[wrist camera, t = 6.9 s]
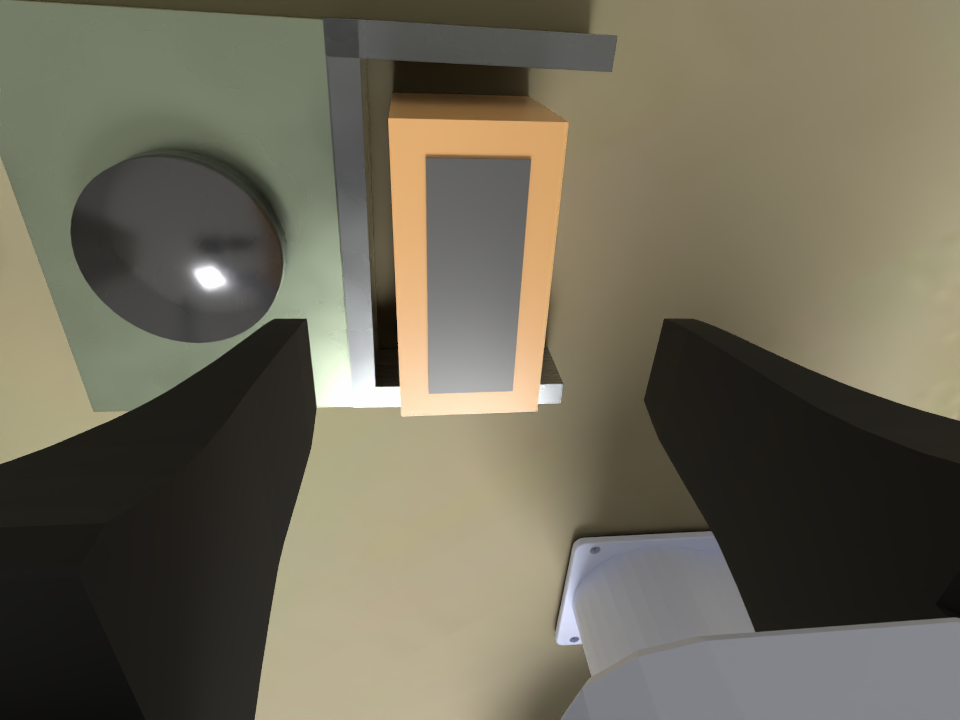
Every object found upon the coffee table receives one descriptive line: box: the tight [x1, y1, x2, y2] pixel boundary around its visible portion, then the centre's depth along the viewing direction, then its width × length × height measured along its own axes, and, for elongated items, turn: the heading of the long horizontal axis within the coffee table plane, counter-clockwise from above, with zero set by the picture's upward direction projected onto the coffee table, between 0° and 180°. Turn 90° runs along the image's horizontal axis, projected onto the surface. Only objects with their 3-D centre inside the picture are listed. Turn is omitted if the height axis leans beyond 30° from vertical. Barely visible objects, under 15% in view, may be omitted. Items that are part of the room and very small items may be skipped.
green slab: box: [0, 0, 617, 412], centre depth 17 cm, size 15×11×4 cm
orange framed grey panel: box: [388, 93, 569, 416], centre depth 17 cm, size 4×8×5 cm, turn 178°
